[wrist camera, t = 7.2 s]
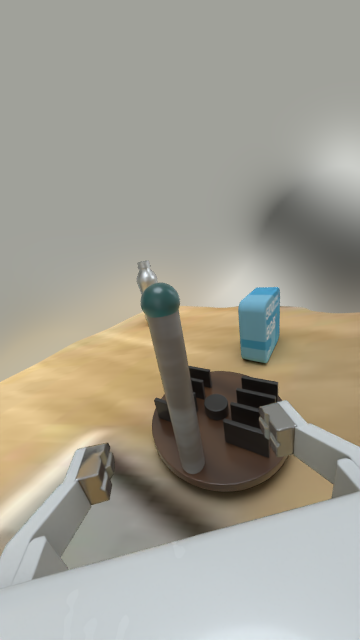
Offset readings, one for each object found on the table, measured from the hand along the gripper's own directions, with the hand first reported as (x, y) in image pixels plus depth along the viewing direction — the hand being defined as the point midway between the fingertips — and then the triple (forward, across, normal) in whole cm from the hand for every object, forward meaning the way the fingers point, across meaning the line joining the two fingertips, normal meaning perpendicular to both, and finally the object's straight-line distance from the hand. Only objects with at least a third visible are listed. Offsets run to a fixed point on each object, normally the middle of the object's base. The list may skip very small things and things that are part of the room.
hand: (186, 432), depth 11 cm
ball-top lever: (+12, -4, +12) cm, 18 cm away
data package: (+27, -18, +14) cm, 36 cm away
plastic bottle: (+56, +4, +14) cm, 58 cm away
